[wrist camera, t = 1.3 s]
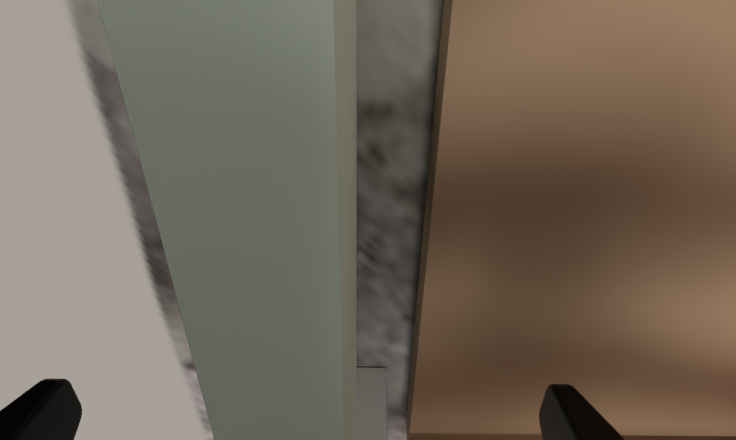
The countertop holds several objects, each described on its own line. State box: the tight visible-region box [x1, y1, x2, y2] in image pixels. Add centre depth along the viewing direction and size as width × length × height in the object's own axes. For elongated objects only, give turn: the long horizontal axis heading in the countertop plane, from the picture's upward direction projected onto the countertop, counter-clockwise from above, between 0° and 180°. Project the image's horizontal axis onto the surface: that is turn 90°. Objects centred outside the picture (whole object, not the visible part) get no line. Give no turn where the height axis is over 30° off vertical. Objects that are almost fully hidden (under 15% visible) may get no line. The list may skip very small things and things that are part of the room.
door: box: [97, 0, 388, 440], centre depth 11 cm, size 18×4×8 cm, turn 179°
